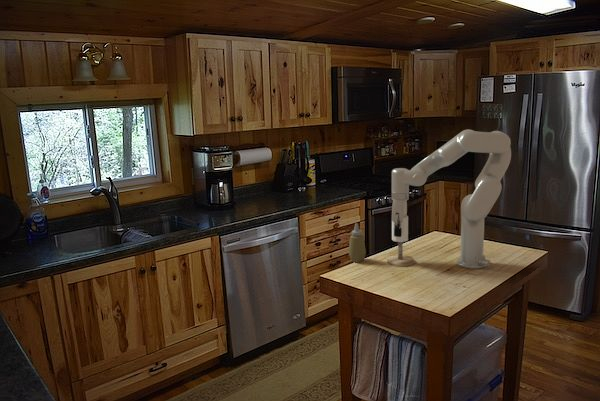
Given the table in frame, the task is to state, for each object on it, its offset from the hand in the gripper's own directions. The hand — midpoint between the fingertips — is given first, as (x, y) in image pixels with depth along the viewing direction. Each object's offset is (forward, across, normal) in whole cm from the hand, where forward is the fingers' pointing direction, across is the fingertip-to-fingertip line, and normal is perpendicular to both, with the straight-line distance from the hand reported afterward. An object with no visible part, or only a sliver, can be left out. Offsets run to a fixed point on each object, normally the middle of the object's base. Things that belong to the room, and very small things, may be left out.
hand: (399, 233), depth 219 cm
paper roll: (+3, 0, 0) cm, 3 cm away
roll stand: (+14, 0, 0) cm, 14 cm away
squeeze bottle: (+14, +4, -19) cm, 24 cm away
